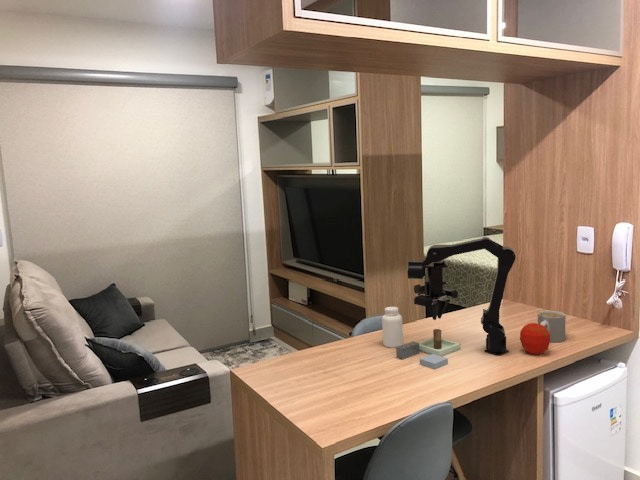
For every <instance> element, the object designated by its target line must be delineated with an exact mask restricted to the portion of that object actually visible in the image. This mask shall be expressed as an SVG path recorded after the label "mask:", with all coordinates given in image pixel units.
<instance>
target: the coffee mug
mask: <svg viewBox="0 0 640 480" xmlns="http://www.w3.org/2000/svg"><path fill="white" fill-rule="evenodd" d="M537 324H541V325H543V326H544V327H546V328H547V330H548V331H549V333H550V343H549V344H557V343H559V344H560V343H564V342H565V341H566V313H564V312H562V311H559V310H558V311H557V310H541V311H539V312H537Z"/></svg>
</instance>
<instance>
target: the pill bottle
mask: <svg viewBox="0 0 640 480" xmlns="http://www.w3.org/2000/svg"><path fill="white" fill-rule="evenodd" d="M381 323H382V324H381V326H382V344H383V346H384V347H386V348H391V349H394V348H396V347H398V346H401V345H404V331H403V316H402V315H401V314H400V313H399V307H398V306H387V307H384V315H382V317H381Z"/></svg>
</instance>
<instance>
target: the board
mask: <svg viewBox="0 0 640 480" xmlns="http://www.w3.org/2000/svg"><path fill="white" fill-rule="evenodd" d="M418 361H419V365H421V366H423V367H427V368H430V369H433V370H437V369H440V368H442V367H445V366H446V365H448V364H449V359H448V358H447V357H445V356H442V357H441V356H438V355H435V354H427V355H426V356H423V357H420V358H419V360H418Z"/></svg>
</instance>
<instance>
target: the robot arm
mask: <svg viewBox="0 0 640 480" xmlns="http://www.w3.org/2000/svg"><path fill="white" fill-rule="evenodd" d="M481 250H485V251H487V252H488V253H490V254H491V255H493V256H494V257H496V258H497V264H496V265H497V270H496V275H495V280H494V283H493V287H492V292H491V297H490V300H489V305H488V307H487V309H484V308H483V309H482V315H481V318H480V324H481V325H482V329H483V331H484V332H485V333H486V338H485V349H483V350H484V351H483V352H484V353H488V354H492V355H496V356H501V355H503V354H506V353H509V352H510V350H509V349H507V336H506V331H505V327H504V326H503V325H502V324H501V323H500V311H501V305H502V301H503V297H504V291H505V288H506V284H507V279H508V276H509V273H510V271H511V270H512V267H513V265H514V263H515V261H516V254H515V251H514V249H513V248H512V247H510V246H504V245H502V244H499V243H498V242H496V241H494V240H493V239H491V238H490V237H488V236H484V237H481V238H477V239H472V240H469V241H468V240H467V241H463V242H459V243H458V242H457V243H453V244H433V245H431V246H430V247H428V249H427V252H426V256H425V258H423V260H421V261H420V260H419V261H418V260H417V261H415V260H409V261H408V263H407V265H408V266H407V272H406V273H407V279H410V280H411V279H412V280H414V279H415V280H423V279H424V278H425V277H427V280H426V281H425V283H424V285H421V284H415V285H413V292H414V294H417V296H414V298H413V304H414V305H418V306H421V307H426V308H427V309H428V310H429V313H430V314H431V315H430V316H431V317H432V320H433V321H436V320H437V319H441V318H442V316H443V314H444V312H445V310H446V308H447V306H448V305H449V303H450V302H451V300H450V299H448V297H451V298H452V299H457V298H458V297H459V293H458V291H457V290H456V289H453V288H444V286H445V285H446V284H447V281H445V279H444V268H445V269H446V268H448V267H449V264H448V263H447V262H446V261H445V260H446V259H449V258H450V257H453V256H457V255H462V254H467V253H470V252H476V251H477V252H478V251H481ZM432 263H433V264H432Z"/></svg>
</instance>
